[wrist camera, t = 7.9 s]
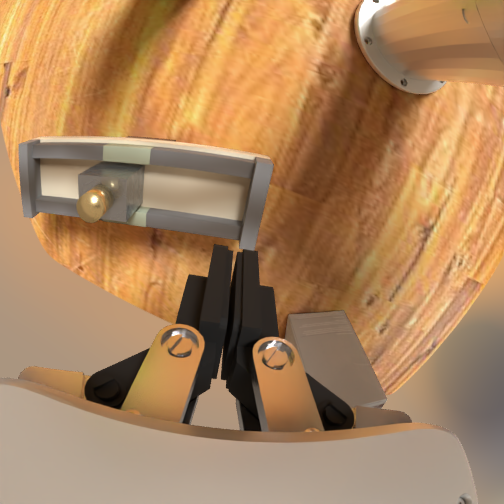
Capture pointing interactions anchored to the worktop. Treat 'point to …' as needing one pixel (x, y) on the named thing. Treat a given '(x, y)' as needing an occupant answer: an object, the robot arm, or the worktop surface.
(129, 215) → the rider
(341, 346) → the skincare box
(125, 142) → the stand
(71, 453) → the robot arm
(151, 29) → the worktop surface
